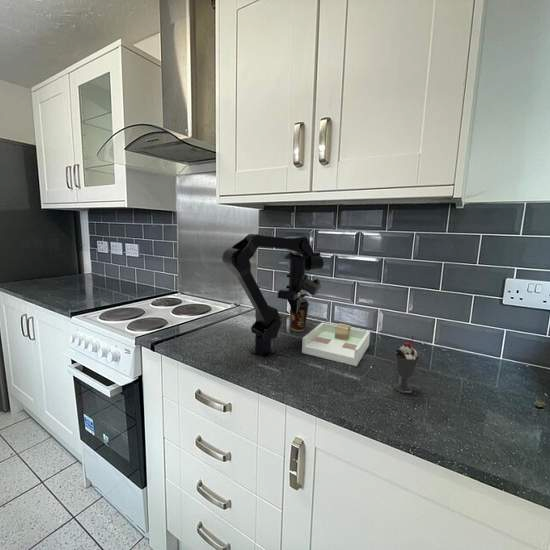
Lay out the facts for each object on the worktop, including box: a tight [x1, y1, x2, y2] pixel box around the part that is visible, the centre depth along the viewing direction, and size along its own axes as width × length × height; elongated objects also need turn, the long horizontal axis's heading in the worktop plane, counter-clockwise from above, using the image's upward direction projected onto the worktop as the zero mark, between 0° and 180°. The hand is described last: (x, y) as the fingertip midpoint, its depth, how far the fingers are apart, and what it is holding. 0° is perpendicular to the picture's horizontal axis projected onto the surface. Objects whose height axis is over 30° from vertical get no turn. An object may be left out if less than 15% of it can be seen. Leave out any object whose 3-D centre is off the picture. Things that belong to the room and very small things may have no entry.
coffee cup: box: [289, 297, 310, 332], centre depth 127 cm, size 9×8×13 cm
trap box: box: [301, 322, 371, 367], centre depth 108 cm, size 20×19×6 cm
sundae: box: [393, 335, 421, 391], centre depth 81 cm, size 7×7×15 cm
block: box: [335, 323, 352, 341], centre depth 112 cm, size 4×4×4 cm
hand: (295, 313), depth 109 cm, fingers closed
